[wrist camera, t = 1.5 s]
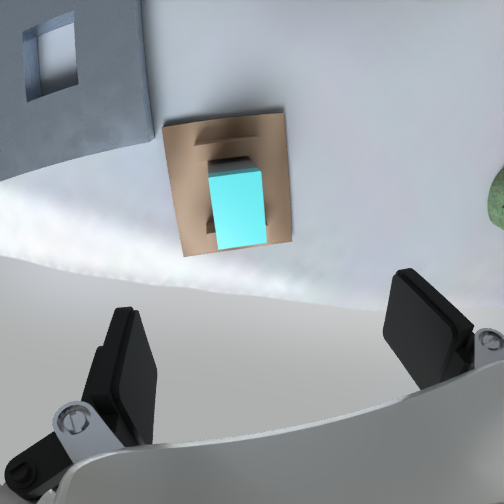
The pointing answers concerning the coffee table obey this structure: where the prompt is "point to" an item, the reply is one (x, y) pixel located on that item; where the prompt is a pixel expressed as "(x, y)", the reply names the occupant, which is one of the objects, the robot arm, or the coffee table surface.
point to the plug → (237, 202)
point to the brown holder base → (219, 147)
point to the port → (76, 97)
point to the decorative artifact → (497, 200)
